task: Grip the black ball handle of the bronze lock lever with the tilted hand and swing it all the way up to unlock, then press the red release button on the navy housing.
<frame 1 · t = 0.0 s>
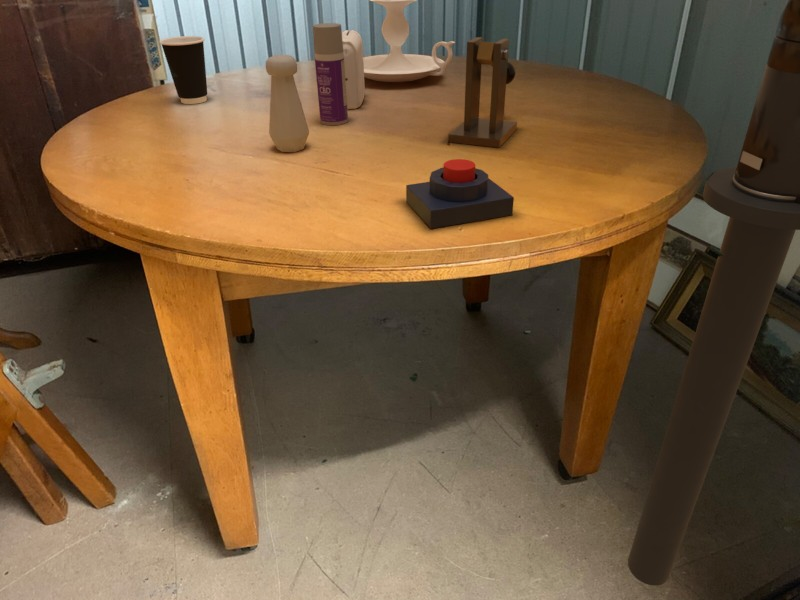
salt shaker: (291, 149, 90), on the table
lock lever: (496, 64, 92), point 10 cm above the table, hinge at -25.0°
container: (334, 122, 102), on the table
release button: (459, 171, 68), point 4 cm above the table, slide at 0.1 cm
candlestick: (404, 81, 127), on the table
photo printer: (352, 103, 113), on the table
lever stand: (483, 135, 94), on the table
dixie cup: (194, 101, 116), on the table
button housing: (457, 208, 70), on the table
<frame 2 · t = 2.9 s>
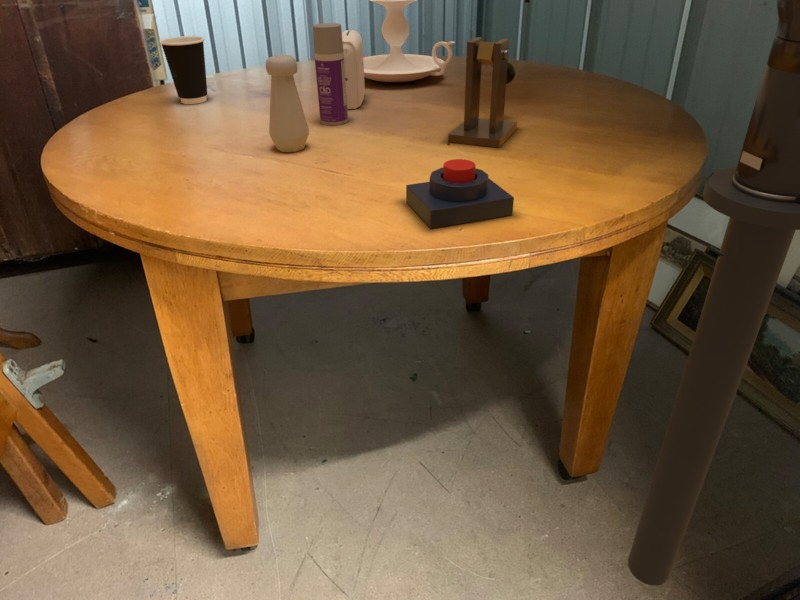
nothing on the table moved.
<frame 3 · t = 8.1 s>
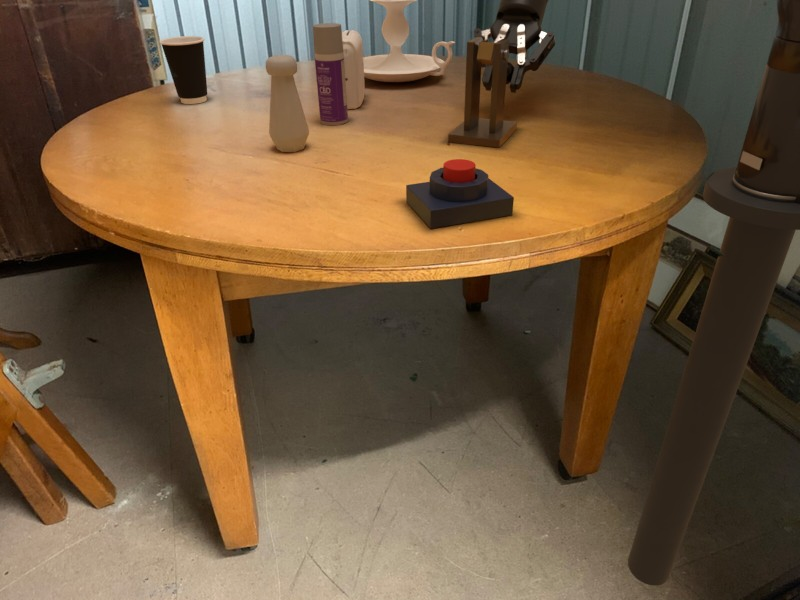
hand: (500, 88, 97), 5 cm above the table, tool tilted 45°, fingers closed on lock lever, 3 cm apart
lock lever: (496, 64, 92), point 10 cm above the table, hinge at -25.1°, touching gripper
everything else where it was.
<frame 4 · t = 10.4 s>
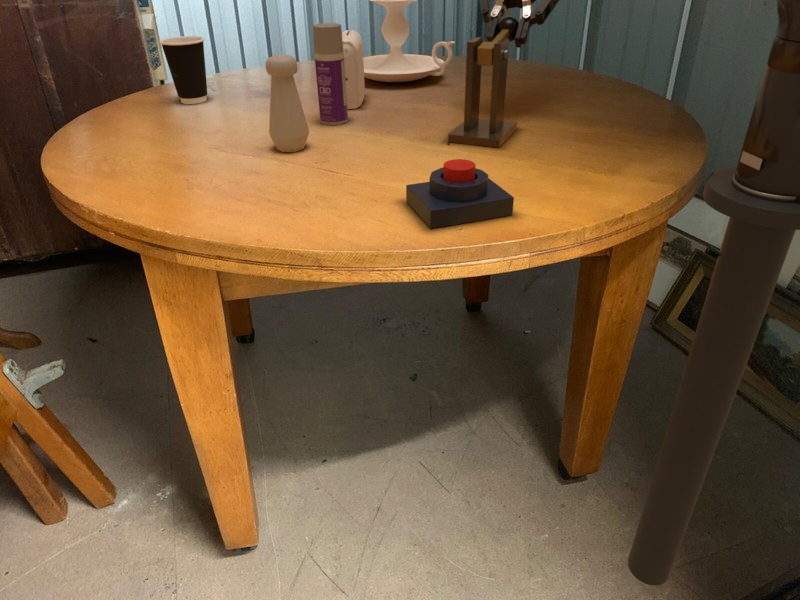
hand: (504, 43, 94), 12 cm above the table, tool tilted 45°, fingers closed on lock lever, 3 cm apart
lock lever: (498, 40, 91), point 13 cm above the table, hinge at 9.2°, touching gripper
everything else where it was.
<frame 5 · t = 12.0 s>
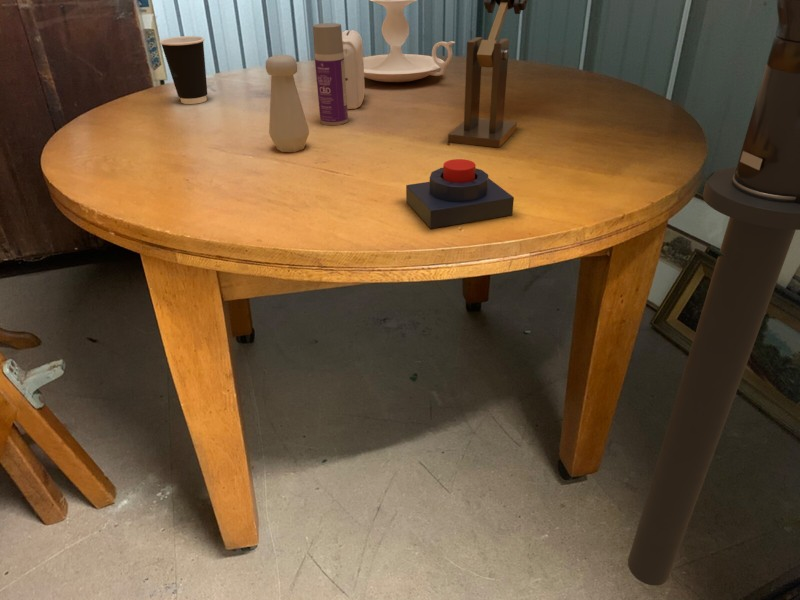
hand: (503, 9, 90), 17 cm above the table, tool tilted 45°, fingers closed on lock lever, 3 cm apart
lock lever: (498, 23, 89), point 15 cm above the table, hinge at 37.0°, touching gripper
everything else where it was.
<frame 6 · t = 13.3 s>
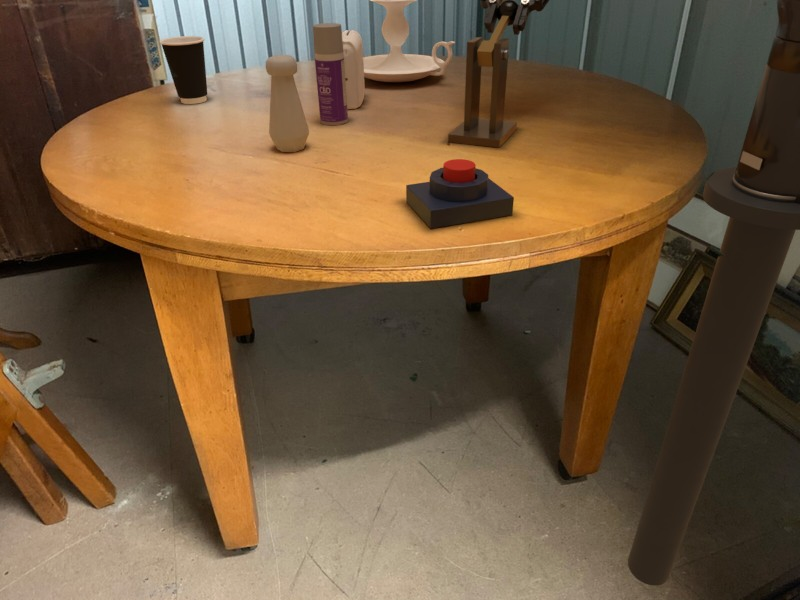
hand: (502, 30, 92), 14 cm above the table, tool tilted 45°, fingers closed on lock lever, 3 cm apart
lock lever: (498, 31, 90), point 14 cm above the table, hinge at 22.4°, touching gripper
everything else where it was.
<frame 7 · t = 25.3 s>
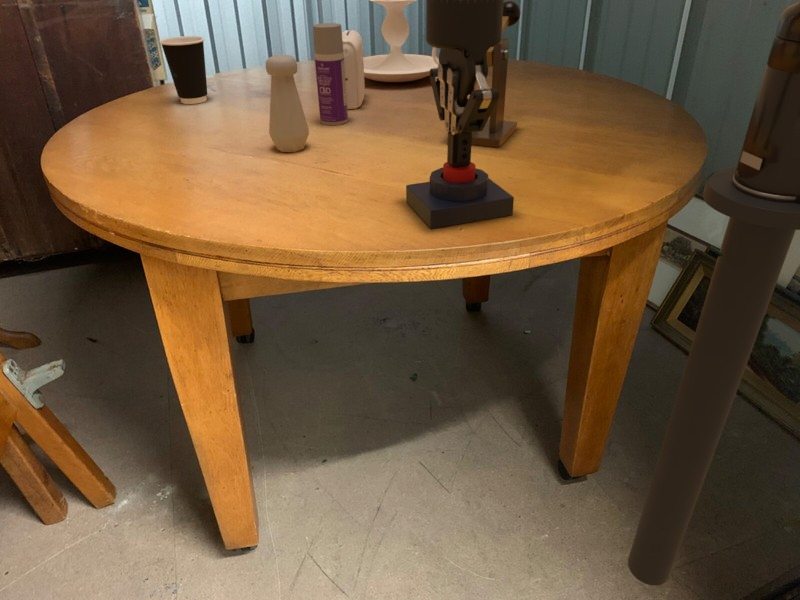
hand: (458, 164, 67), 5 cm above the table, tool pointing down, fingers closed
lock lever: (498, 32, 90), point 14 cm above the table, hinge at 21.9°
release button: (459, 172, 68), point 4 cm above the table, slide at 0.0 cm, touching gripper
everything else where it was.
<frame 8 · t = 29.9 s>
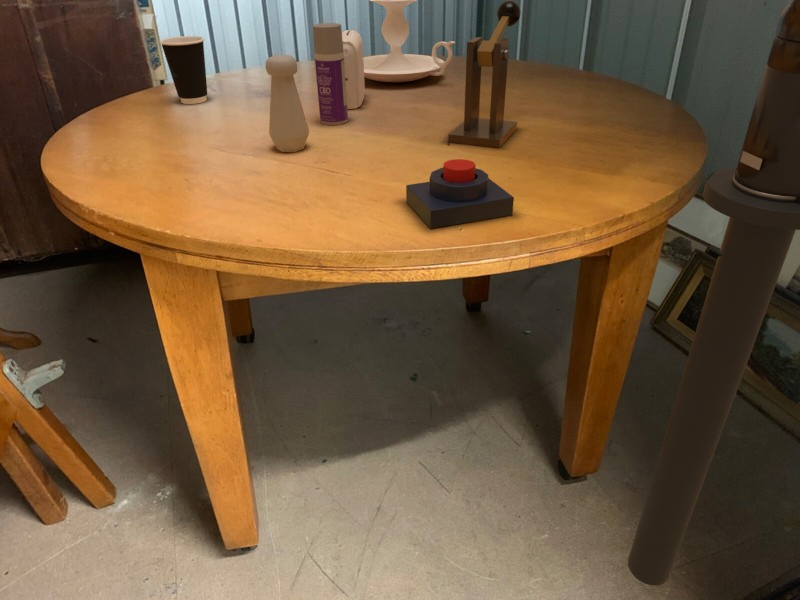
release button: (459, 171, 68), point 4 cm above the table, slide at 0.1 cm
everything else where it was.
at the end: lock lever at +22° (first picture: -25°); release button pushed in 1.1 cm at the most during the clip, back to where it started at the end; release button slide at 0.1 cm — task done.
